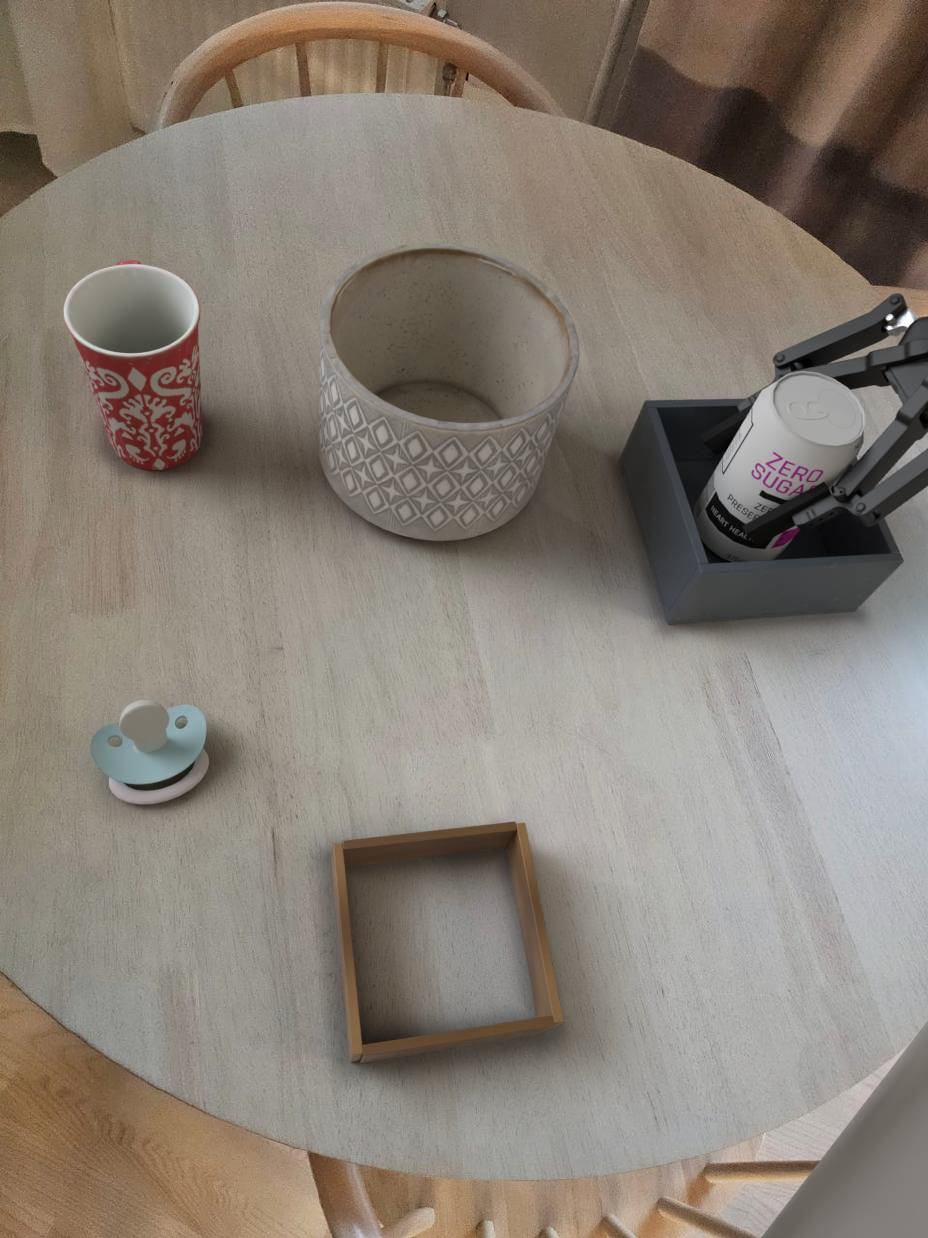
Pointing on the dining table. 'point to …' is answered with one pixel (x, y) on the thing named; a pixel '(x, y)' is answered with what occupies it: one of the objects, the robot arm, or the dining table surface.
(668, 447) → the grey storage bin
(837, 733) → the dining table surface
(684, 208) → the dining table surface
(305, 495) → the dining table surface
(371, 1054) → the box
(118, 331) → the mug
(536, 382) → the planter
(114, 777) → the pacifier
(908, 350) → the robot arm
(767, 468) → the supplement can
